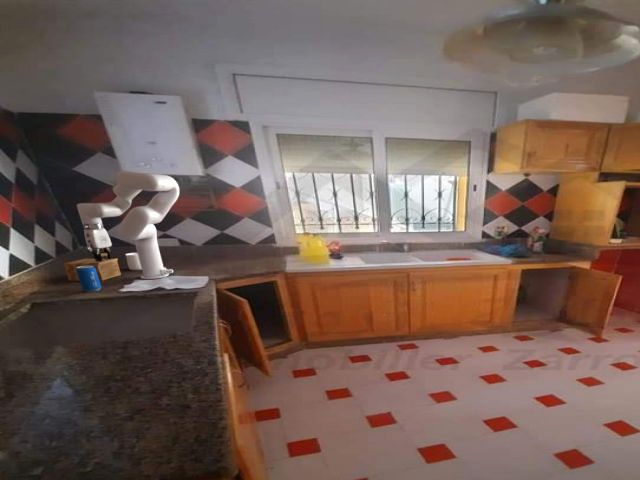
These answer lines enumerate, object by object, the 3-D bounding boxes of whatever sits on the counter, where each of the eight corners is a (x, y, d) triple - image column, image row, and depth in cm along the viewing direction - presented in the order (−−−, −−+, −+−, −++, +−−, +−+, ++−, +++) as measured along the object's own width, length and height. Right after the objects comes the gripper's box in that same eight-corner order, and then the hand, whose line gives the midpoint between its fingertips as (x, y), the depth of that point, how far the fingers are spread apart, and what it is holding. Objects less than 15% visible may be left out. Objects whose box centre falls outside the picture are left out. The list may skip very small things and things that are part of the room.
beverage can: (90, 292, 152) (81, 268, 149) (79, 291, 154) (71, 267, 150) (105, 288, 158) (97, 265, 155) (95, 288, 160) (87, 264, 156)
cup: (126, 269, 198) (121, 254, 195) (145, 266, 206) (141, 251, 203) (133, 271, 193) (129, 255, 190) (152, 268, 202) (148, 252, 199)
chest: (121, 274, 185) (116, 260, 182) (102, 280, 173) (97, 264, 171) (90, 275, 184) (85, 260, 181) (69, 280, 172) (63, 265, 169)
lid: (118, 259, 183) (115, 251, 181) (99, 264, 171) (96, 255, 169) (85, 260, 181) (82, 251, 179) (63, 265, 169) (60, 255, 167)
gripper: (86, 228, 163) (97, 263, 168) (114, 225, 179) (123, 256, 184) (70, 228, 162) (82, 263, 168) (99, 225, 178) (109, 257, 184)
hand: (103, 259), depth 176 cm, fingers closed on lid, 5 cm apart
